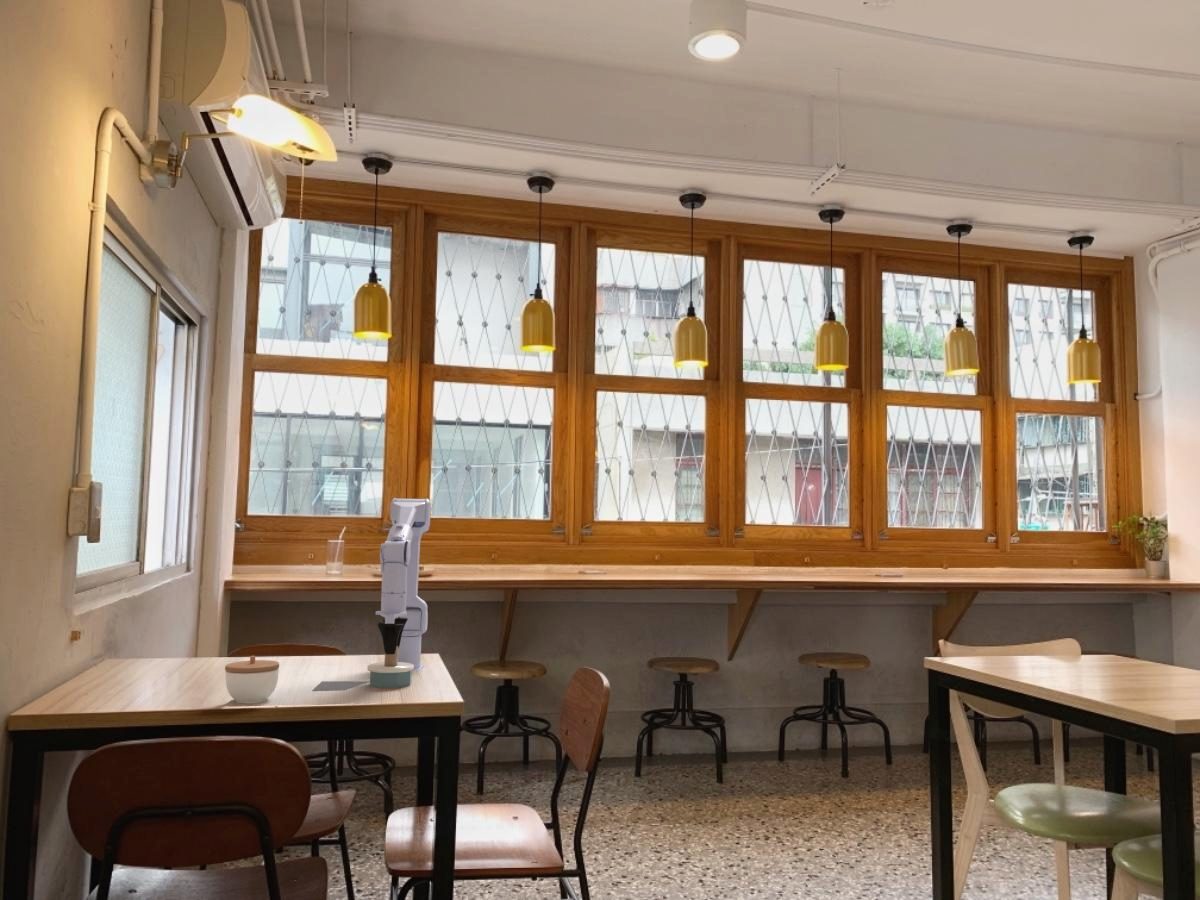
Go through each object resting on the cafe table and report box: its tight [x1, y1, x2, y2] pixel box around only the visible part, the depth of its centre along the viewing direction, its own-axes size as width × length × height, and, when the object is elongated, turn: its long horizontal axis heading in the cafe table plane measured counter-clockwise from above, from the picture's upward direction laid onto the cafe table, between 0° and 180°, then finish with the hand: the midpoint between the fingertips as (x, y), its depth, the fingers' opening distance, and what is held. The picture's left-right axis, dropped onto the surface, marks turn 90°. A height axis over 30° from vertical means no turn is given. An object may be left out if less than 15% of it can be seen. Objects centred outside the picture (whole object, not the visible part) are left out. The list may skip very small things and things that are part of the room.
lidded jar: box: [224, 655, 280, 704], centre depth 193 cm, size 11×11×9 cm
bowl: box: [369, 670, 413, 689], centre depth 212 cm, size 9×9×4 cm
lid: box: [367, 646, 414, 673], centre depth 212 cm, size 10×10×5 cm
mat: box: [311, 680, 370, 692], centre depth 209 cm, size 11×11×1 cm
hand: (392, 651), depth 212 cm, fingers open, 7 cm apart
